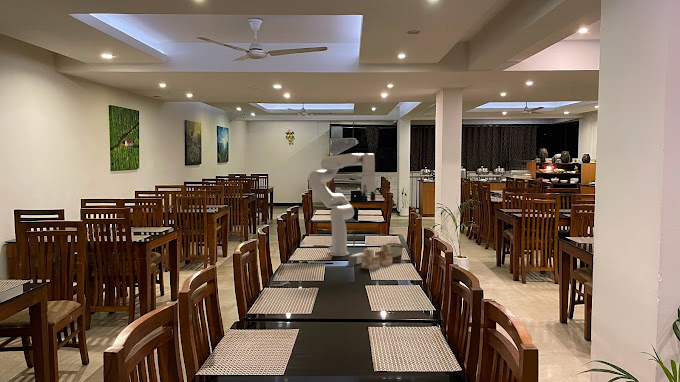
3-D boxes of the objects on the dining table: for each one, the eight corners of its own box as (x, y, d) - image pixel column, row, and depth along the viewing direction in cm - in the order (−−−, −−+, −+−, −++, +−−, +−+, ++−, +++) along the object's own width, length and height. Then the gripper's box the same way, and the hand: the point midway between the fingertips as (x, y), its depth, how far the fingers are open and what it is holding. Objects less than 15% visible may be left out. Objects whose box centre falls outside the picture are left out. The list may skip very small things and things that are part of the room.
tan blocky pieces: (361, 267, 290) (361, 248, 289) (380, 261, 305) (380, 243, 304) (374, 269, 285) (373, 250, 284) (392, 263, 300) (392, 245, 299)
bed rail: (348, 264, 300) (348, 255, 299) (362, 260, 310) (362, 252, 310) (353, 265, 297) (353, 256, 297) (367, 260, 308) (367, 252, 308)
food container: (403, 258, 313) (403, 242, 312) (403, 261, 307) (403, 244, 306) (383, 258, 314) (383, 242, 313) (383, 260, 308) (383, 244, 307)
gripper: (370, 172, 318) (370, 200, 319) (356, 174, 303) (356, 202, 304) (380, 173, 313) (381, 200, 315) (366, 174, 299) (367, 203, 300)
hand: (368, 201), depth 310 cm, fingers open, 9 cm apart
